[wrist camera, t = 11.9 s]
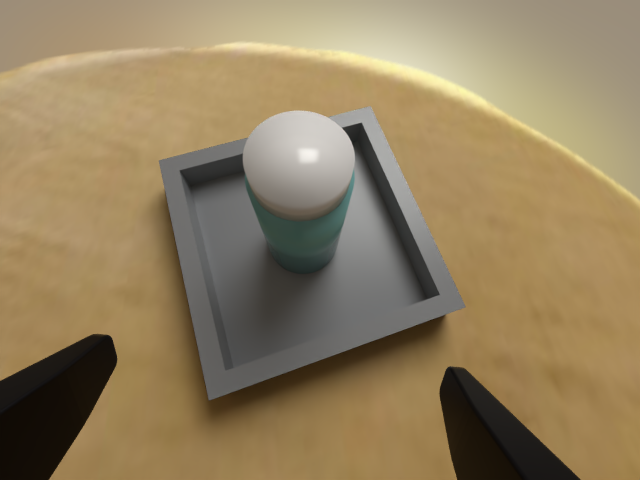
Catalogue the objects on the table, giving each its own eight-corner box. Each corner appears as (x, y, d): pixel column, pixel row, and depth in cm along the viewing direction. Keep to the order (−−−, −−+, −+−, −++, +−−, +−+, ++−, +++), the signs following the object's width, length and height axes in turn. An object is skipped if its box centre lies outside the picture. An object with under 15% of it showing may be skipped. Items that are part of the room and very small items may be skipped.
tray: (222, 393, 20) (208, 400, 17) (175, 181, 25) (158, 160, 22) (445, 312, 22) (465, 307, 20) (364, 131, 27) (370, 106, 24)
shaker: (306, 288, 22) (304, 236, 12) (253, 243, 23) (211, 159, 13) (351, 237, 23) (383, 151, 13) (300, 196, 24) (294, 88, 14)
